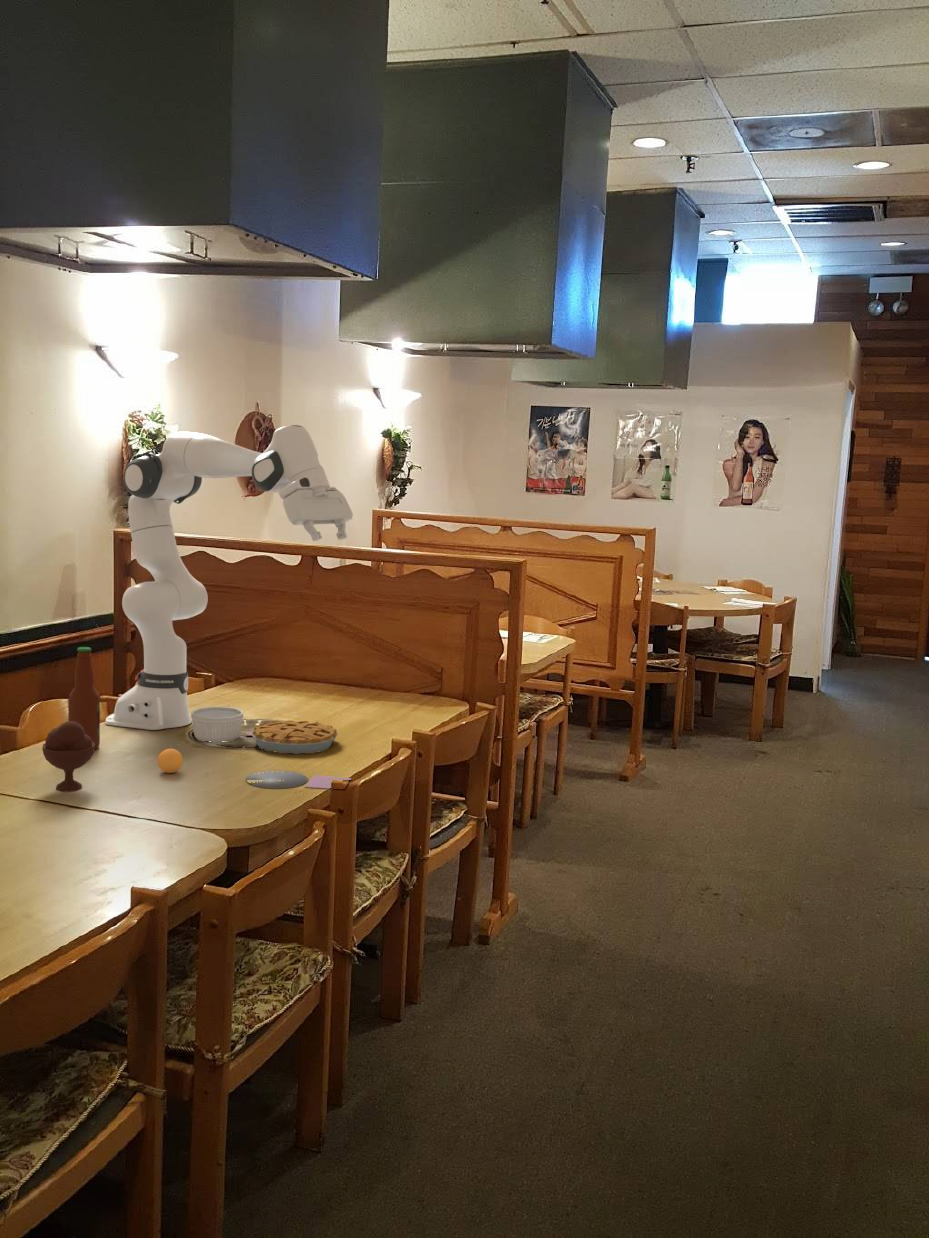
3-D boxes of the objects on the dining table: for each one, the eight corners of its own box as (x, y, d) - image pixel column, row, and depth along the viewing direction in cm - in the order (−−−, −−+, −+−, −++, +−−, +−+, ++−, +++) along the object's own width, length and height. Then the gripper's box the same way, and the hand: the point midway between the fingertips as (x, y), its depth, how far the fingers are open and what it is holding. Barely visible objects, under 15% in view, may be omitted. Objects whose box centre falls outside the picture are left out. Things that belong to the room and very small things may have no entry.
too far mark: (305, 787, 249) (305, 786, 249) (313, 776, 258) (313, 775, 258) (344, 790, 248) (344, 789, 248) (351, 779, 257) (351, 778, 257)
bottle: (106, 746, 274) (106, 647, 271) (84, 753, 268) (84, 651, 264) (83, 742, 277) (83, 644, 274) (61, 748, 271) (61, 648, 267)
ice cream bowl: (105, 784, 244) (105, 717, 242) (72, 797, 233) (72, 728, 231) (65, 777, 247) (65, 712, 245) (31, 790, 237) (30, 722, 235)
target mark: (238, 786, 247) (238, 785, 247) (254, 769, 261) (254, 768, 261) (300, 790, 246) (300, 789, 246) (313, 773, 260) (313, 772, 260)
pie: (321, 760, 273) (321, 740, 272) (237, 751, 277) (238, 732, 276) (347, 739, 294) (348, 721, 293) (270, 732, 298) (270, 713, 297)
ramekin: (217, 747, 280) (217, 720, 279) (179, 738, 286) (180, 712, 286) (253, 737, 291) (253, 711, 290) (216, 729, 298) (217, 704, 297)
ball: (153, 775, 252) (154, 751, 252) (162, 768, 258) (162, 745, 257) (178, 776, 252) (178, 752, 251) (185, 770, 258) (186, 746, 257)
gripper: (329, 492, 277) (348, 543, 275) (273, 492, 260) (293, 546, 258) (347, 481, 273) (366, 532, 272) (291, 480, 256) (312, 535, 255)
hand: (330, 539), depth 265 cm, fingers open, 8 cm apart
